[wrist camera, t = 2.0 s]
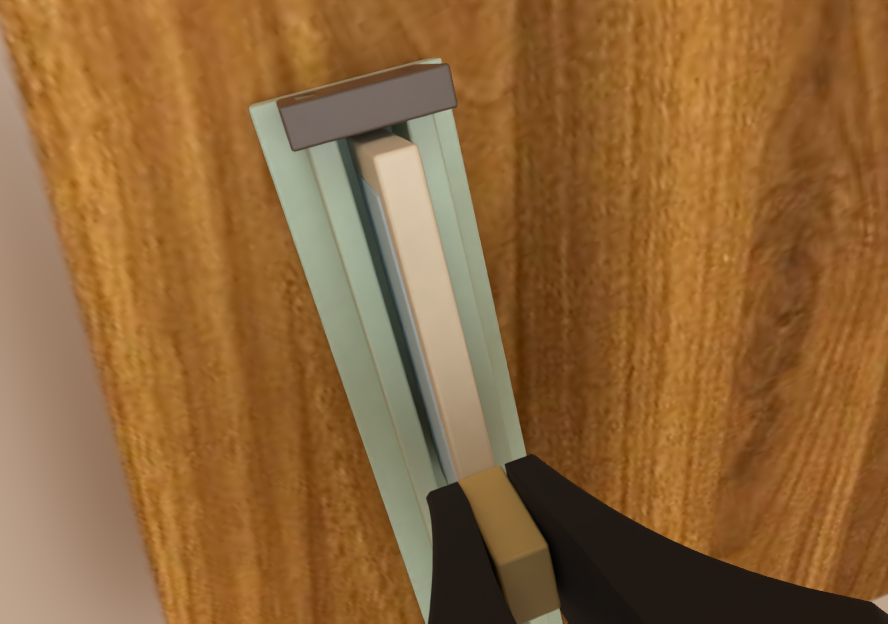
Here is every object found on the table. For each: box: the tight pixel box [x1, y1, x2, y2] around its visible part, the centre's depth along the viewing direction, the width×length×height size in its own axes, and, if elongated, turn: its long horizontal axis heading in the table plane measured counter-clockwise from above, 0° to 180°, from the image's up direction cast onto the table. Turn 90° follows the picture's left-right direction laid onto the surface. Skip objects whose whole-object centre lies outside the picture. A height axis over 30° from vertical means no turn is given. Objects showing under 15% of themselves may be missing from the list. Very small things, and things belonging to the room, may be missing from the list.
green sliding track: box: [249, 58, 563, 624], centre depth 17 cm, size 21×4×4 cm, turn 13°
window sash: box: [346, 128, 561, 624], centre depth 13 cm, size 10×1×6 cm, turn 13°
